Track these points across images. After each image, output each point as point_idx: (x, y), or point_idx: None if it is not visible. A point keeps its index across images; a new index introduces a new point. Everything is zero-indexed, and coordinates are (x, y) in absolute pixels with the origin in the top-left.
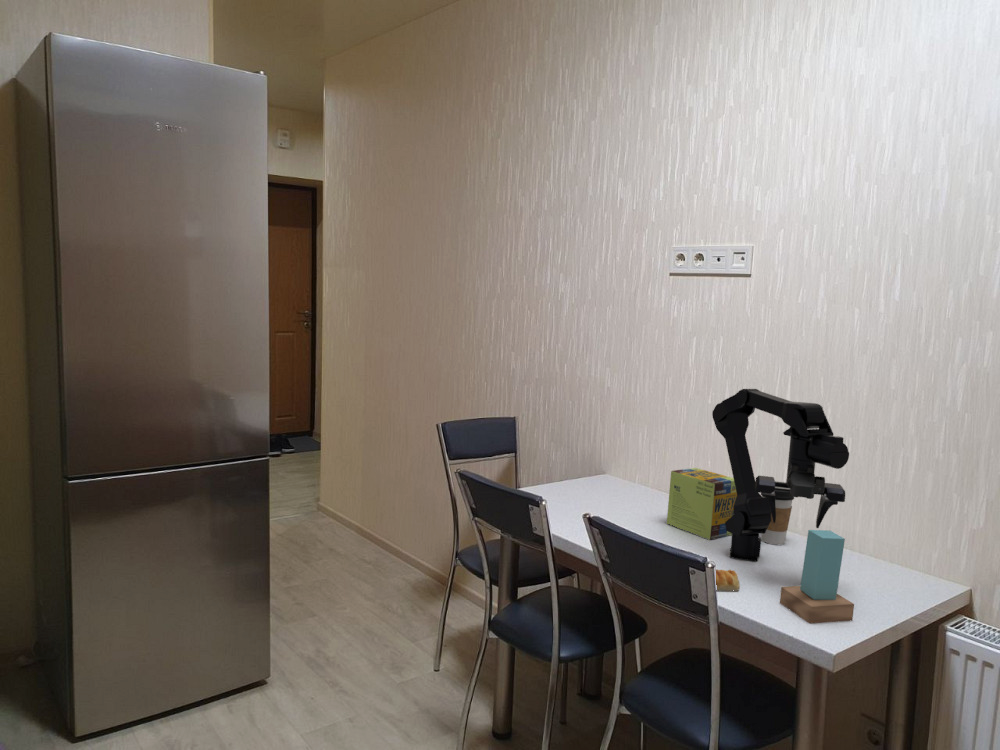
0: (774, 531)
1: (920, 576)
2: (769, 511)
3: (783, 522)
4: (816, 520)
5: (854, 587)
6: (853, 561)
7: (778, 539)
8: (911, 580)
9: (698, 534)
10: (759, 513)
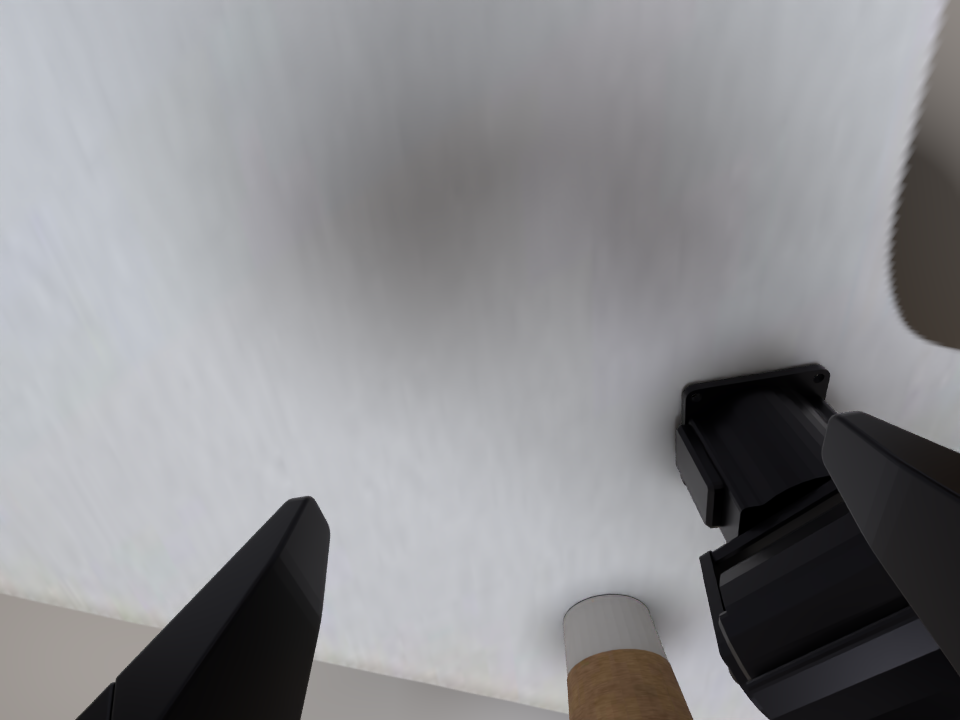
0: (618, 648)
1: (62, 571)
2: (780, 695)
3: (594, 704)
4: (313, 608)
5: (200, 320)
6: None
7: (591, 619)
8: (63, 524)
9: None
10: (887, 634)
